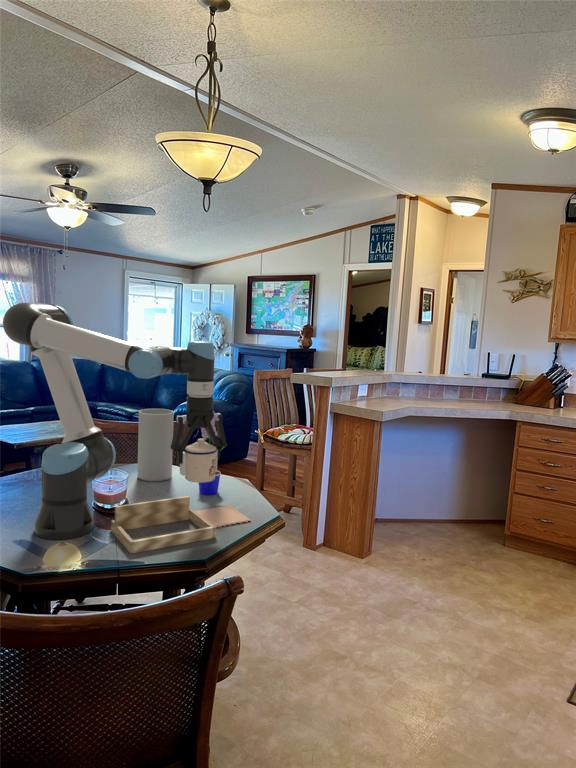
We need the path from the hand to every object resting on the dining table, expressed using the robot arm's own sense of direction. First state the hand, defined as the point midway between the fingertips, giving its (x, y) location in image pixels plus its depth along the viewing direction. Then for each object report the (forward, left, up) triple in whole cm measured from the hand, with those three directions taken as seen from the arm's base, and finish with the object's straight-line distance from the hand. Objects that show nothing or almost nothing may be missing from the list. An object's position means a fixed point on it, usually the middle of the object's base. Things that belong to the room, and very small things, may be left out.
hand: (198, 472), depth 162 cm
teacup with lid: (+1, 0, -2) cm, 2 cm away
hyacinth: (+17, +26, -16) cm, 35 cm away
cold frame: (-11, -2, -16) cm, 19 cm away
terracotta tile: (+9, +3, -16) cm, 18 cm away
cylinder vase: (+6, +51, -16) cm, 54 cm away
